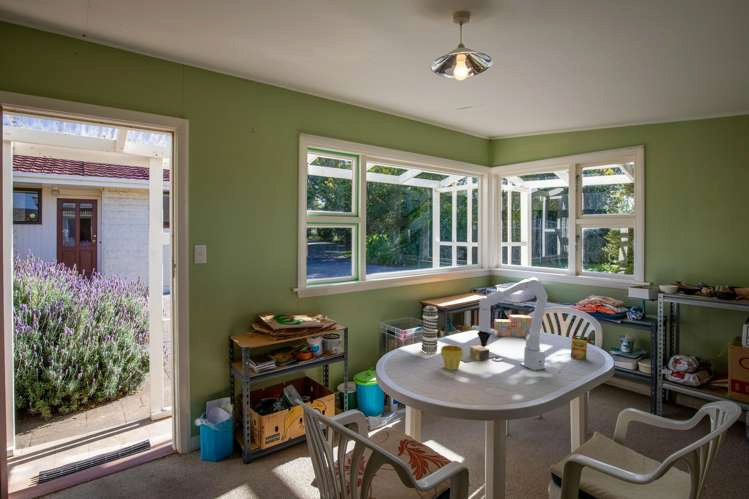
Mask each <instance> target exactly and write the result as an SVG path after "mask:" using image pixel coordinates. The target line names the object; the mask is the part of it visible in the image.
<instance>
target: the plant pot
mask: <svg viewBox="0 0 749 499" xmlns="http://www.w3.org/2000/svg"><path fill="white" fill-rule="evenodd" d="M440 355H441V356H442V360H443V364H444V368H445V369H446V370H449V371H457V370H459V367H460V363H461V357H462V356H463V348H462V347H461V346H458V345H452V344H448V345H443V346H441V348H440Z"/></svg>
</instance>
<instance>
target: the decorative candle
mask: <svg viewBox="0 0 749 499" xmlns="http://www.w3.org/2000/svg"><path fill="white" fill-rule="evenodd" d="M422 311H423V312H422V313H423V314H422V316H421V325H422V327H421V330H422V339H421V351H422V350H423V351H424V352H426V353H436V352H437V353H438V336H437V334H438V331H439V330H438V329H439V327H438V326H439V324H438V323H439V322H440V321H439V319H440V318H439V317H438V316H439V315H438V308H437V307H436V306H434V305H426V306H424V308H422ZM437 353H436V354H437Z"/></svg>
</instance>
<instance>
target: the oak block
mask: <svg viewBox="0 0 749 499" xmlns="http://www.w3.org/2000/svg"><path fill="white" fill-rule="evenodd" d="M489 352H490V349H489V348H487V347H486V346H485V347H483V346H482V345H480V344H477V345H471V346H470V356H472V357H474V358H476V359H478V361H484V360H485V361H486V360H490V359H489Z"/></svg>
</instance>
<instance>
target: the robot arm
mask: <svg viewBox="0 0 749 499" xmlns="http://www.w3.org/2000/svg"><path fill="white" fill-rule="evenodd" d="M527 290H528V291H529V292H530V293H532V294H533V295H534V296H535V297H536V302H535V306H534V312H533V313H532V314H533V315H532V323H531V328H530V330H529V333H528V334H527V336H526V337H525V345H524V353H523V354H524V355H523V356H524V357H523V359H524V360H523V362H519V364H520V365H521V366H523V367H526V368H528V369H530V370H532V371H537V370H542V369H546V366H545V365H546V364H545V360H546V355H545V352H542V350H541V348H540V346H541V345H540V344H541V342H540V334H541V329H542V324H543V320H544V316H545V311H546V307H547V303H548V297H549V296H548V294H547V292H546V289H545V287H544V284H543V283H542V281H541V280H540V279H539V278H538V277H535V276H531V277H528V279H527V278H526V279H523V280H520V281H519V282H517V283H515V284H513V285H511V286H509V287H507V288H505V289H504V290H501V289H495V290H493V291H494V292H491V293H490V294H486V295H485V296H482V297H481V298H480V299H479V302H478V306H479V312H478V325H472V326H471V330H472V331H477V336H478V338H479V340H480V344H481V345H480V346H483V347H485V348H486V347H487V343H488V341H489V338H490V337H491V336H494V337H497V336H496V335H498V331H495V330H494V328H493V329H492V328H491V320H492V319H491V318H492V317H491V316H492V315H491V314H492V313H491V308H492V306H495V305H497V304H500V303H501V302H504V301H505V300H506V297H508V296H510V295H513V294H515V293H517V292H519V291H523V292H524V291H525V292H527Z"/></svg>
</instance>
